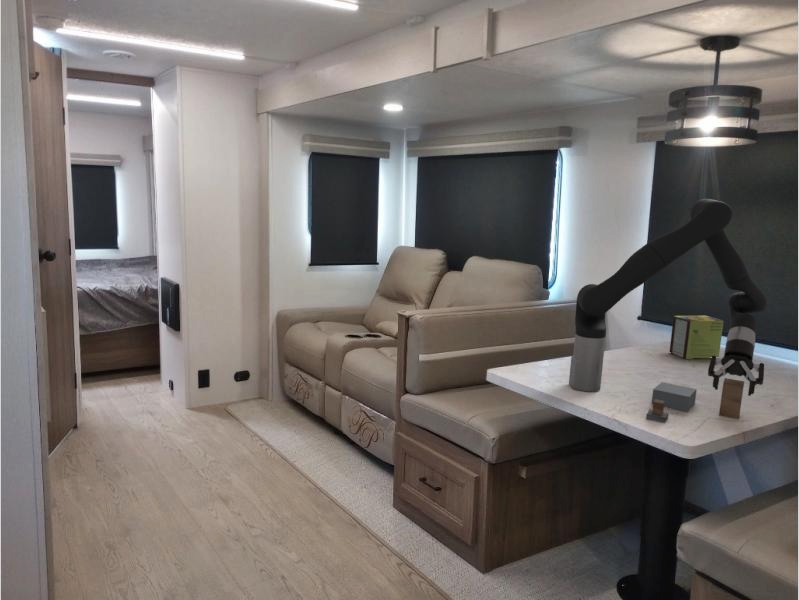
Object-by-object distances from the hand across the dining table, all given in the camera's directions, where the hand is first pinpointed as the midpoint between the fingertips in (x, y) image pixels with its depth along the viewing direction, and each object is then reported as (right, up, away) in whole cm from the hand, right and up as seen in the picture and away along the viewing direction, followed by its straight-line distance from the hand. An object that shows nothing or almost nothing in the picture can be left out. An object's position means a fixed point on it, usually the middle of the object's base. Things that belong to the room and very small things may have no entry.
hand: (732, 391), depth 178 cm
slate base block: (-14, -5, +8) cm, 17 cm away
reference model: (-24, -7, -5) cm, 25 cm away
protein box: (+22, +4, +70) cm, 74 cm away
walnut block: (-1, -7, 0) cm, 7 cm away
